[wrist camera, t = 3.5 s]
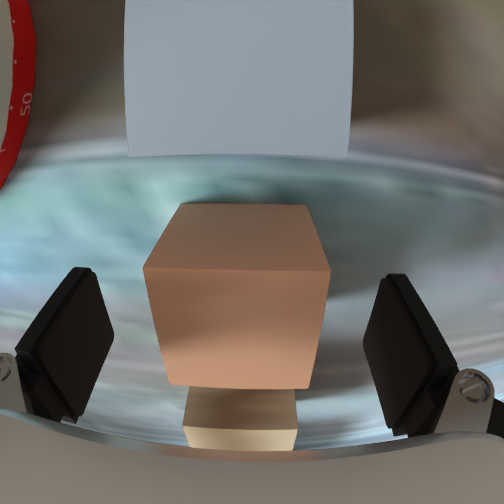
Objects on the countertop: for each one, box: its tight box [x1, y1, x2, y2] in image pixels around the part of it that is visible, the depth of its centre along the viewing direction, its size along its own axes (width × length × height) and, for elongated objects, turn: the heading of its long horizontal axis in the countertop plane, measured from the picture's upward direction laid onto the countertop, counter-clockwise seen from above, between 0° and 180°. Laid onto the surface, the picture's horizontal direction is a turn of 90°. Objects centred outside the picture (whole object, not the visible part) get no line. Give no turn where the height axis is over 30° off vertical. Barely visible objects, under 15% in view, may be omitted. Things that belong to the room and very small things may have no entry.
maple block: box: [182, 386, 298, 451], centre depth 16 cm, size 5×5×5 cm
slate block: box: [124, 0, 354, 158], centre depth 8 cm, size 5×5×5 cm
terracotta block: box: [143, 203, 331, 389], centre depth 12 cm, size 5×5×5 cm
